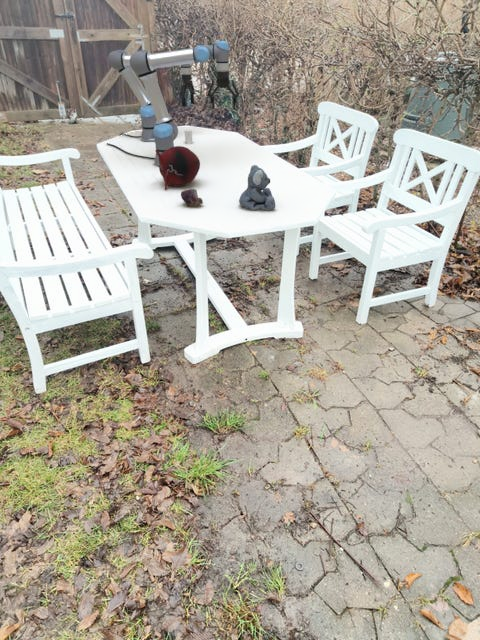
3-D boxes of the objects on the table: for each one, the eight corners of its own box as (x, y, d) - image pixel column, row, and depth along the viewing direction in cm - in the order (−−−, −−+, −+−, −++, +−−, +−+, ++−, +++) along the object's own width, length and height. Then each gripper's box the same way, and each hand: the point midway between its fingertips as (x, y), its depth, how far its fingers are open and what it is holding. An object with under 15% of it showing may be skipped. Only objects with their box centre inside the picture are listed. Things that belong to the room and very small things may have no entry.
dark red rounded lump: (157, 151, 264) (151, 150, 240) (196, 143, 263) (194, 140, 240) (167, 188, 271) (161, 190, 247) (205, 180, 270) (203, 181, 246)
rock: (196, 202, 238) (178, 205, 233) (194, 185, 234) (176, 188, 230) (205, 205, 228) (187, 208, 224) (203, 188, 224) (185, 191, 220)
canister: (191, 143, 339) (190, 131, 334) (184, 143, 340) (183, 131, 335) (193, 142, 343) (192, 129, 338) (186, 141, 344) (186, 129, 339)
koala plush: (276, 211, 223) (277, 171, 212) (240, 212, 222) (240, 172, 211) (271, 199, 237) (272, 161, 226) (237, 200, 236) (237, 162, 225)
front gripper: (243, 70, 275) (244, 108, 287) (204, 70, 279) (206, 107, 291) (241, 71, 269) (242, 110, 281) (201, 71, 273) (203, 109, 285)
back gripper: (182, 76, 324) (184, 108, 336) (198, 72, 343) (200, 102, 355) (173, 75, 327) (176, 107, 339) (189, 72, 346) (191, 102, 358)
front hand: (223, 108), depth 286 cm, fingers open, 13 cm apart
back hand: (188, 105), depth 347 cm, fingers open, 13 cm apart
